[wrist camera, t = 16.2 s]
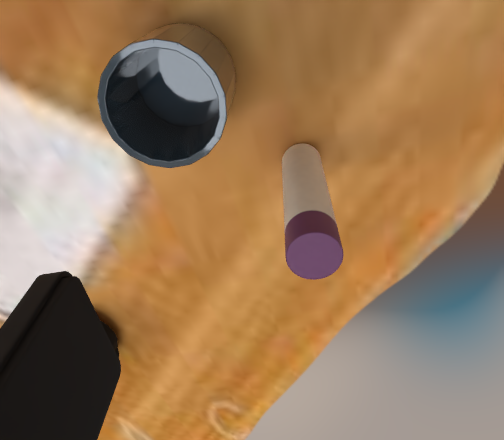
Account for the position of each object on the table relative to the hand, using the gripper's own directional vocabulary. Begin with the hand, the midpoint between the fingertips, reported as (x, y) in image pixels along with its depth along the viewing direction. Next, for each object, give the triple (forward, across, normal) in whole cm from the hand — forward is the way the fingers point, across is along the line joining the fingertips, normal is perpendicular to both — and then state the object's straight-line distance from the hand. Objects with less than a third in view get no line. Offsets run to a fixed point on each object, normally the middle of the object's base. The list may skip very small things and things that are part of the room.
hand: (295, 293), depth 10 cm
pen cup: (+25, +7, 0) cm, 26 cm away
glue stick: (+25, 0, +8) cm, 26 cm away
